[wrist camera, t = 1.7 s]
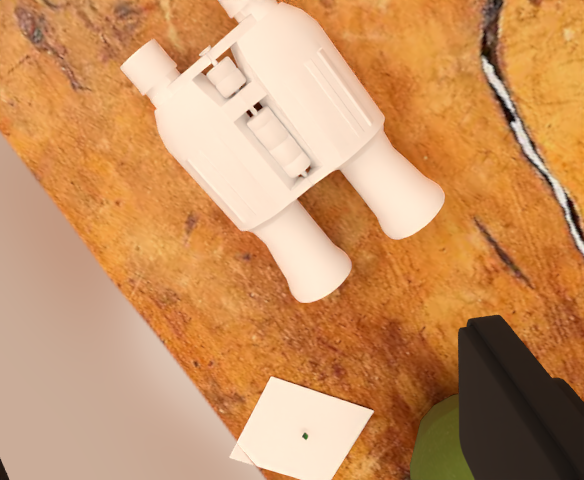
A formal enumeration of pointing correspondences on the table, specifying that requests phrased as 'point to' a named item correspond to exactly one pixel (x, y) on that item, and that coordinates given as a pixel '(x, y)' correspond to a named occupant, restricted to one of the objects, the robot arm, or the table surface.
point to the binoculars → (282, 137)
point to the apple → (440, 445)
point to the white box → (299, 431)
